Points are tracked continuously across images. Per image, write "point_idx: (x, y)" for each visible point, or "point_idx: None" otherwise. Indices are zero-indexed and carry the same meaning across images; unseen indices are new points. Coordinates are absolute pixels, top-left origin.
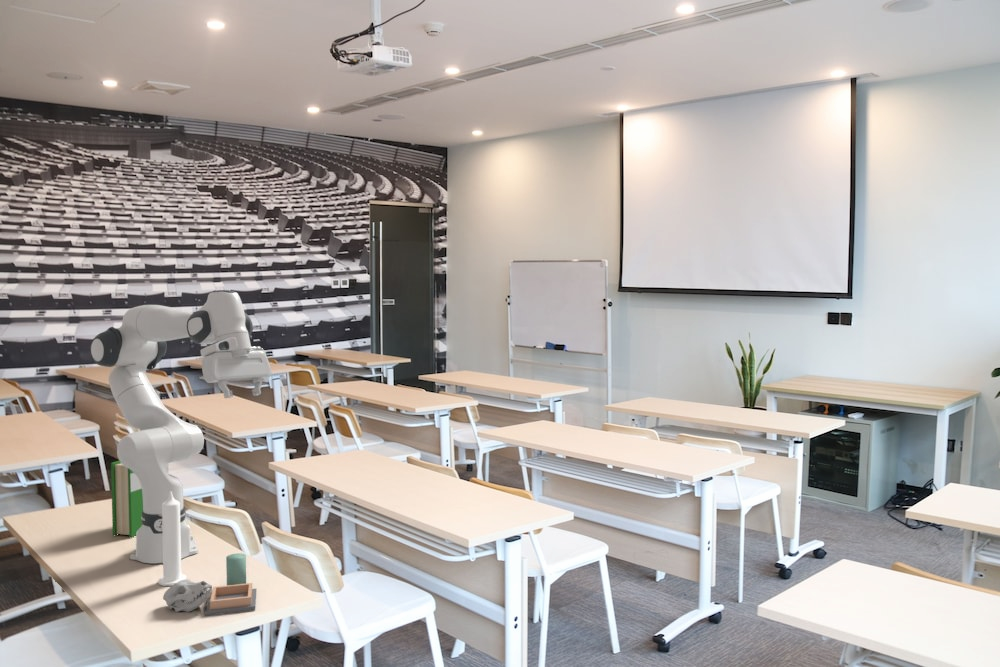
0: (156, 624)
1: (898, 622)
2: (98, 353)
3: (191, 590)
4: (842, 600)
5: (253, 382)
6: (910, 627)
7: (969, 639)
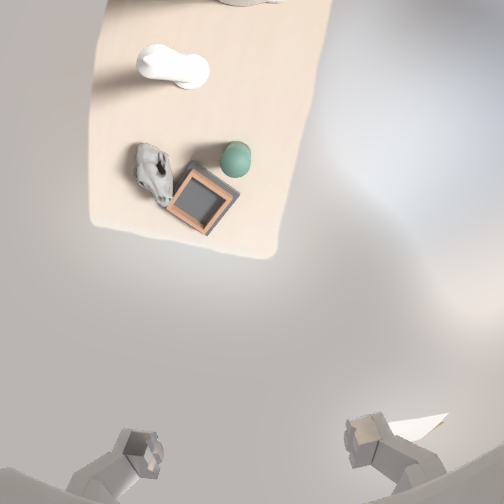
0: (119, 184)
1: None
2: None
3: (149, 190)
4: (403, 428)
5: (404, 474)
6: None
7: None
